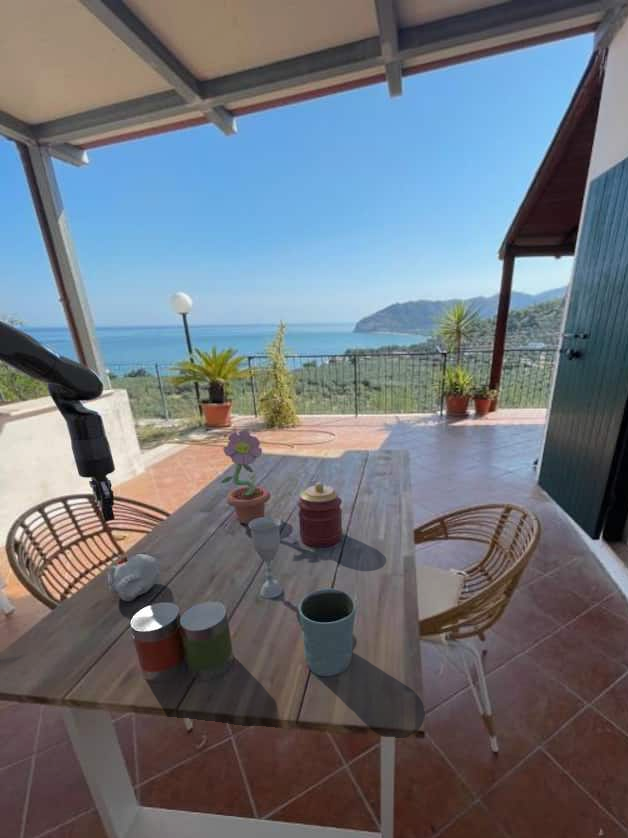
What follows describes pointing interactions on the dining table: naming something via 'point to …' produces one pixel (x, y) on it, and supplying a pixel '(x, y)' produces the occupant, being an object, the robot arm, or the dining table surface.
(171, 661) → the tin cans
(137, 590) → the grey rounded lumpy piece
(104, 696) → the dining table surface
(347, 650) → the light blue cup
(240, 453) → the decorative flower
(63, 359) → the robot arm
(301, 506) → the kitchen canister
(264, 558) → the chalice
